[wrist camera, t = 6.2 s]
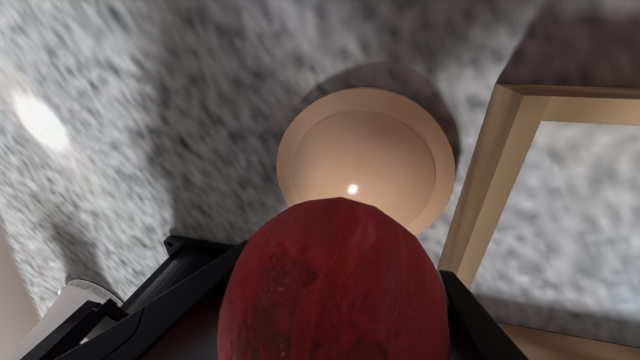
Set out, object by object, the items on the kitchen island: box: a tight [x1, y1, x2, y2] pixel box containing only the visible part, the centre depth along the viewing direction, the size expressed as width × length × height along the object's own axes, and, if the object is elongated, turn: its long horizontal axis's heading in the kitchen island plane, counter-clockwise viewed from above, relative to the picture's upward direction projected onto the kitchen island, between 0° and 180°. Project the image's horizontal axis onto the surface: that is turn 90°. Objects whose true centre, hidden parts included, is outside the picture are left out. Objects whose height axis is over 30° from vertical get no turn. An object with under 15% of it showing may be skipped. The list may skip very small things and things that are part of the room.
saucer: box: [276, 87, 455, 236], centre depth 14 cm, size 9×9×1 cm
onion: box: [217, 197, 451, 360], centre depth 7 cm, size 6×6×8 cm
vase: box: [1, 280, 123, 360], centre depth 24 cm, size 8×8×10 cm
